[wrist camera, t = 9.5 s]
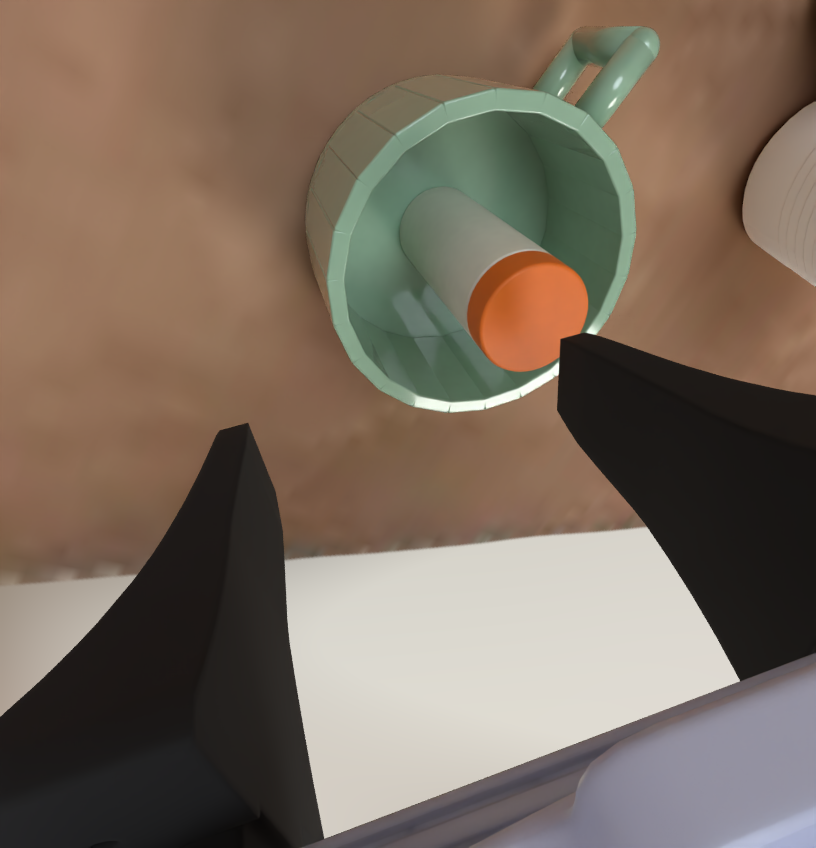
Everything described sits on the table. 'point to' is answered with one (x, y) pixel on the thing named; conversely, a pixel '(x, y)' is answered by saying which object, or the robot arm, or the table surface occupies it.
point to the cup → (786, 195)
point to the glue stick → (493, 279)
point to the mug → (488, 186)
